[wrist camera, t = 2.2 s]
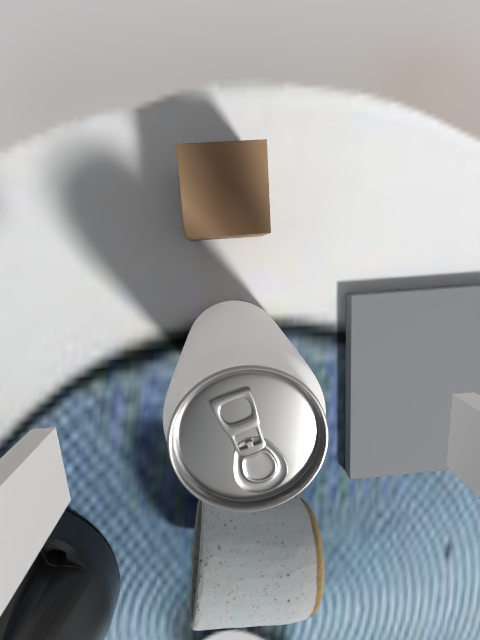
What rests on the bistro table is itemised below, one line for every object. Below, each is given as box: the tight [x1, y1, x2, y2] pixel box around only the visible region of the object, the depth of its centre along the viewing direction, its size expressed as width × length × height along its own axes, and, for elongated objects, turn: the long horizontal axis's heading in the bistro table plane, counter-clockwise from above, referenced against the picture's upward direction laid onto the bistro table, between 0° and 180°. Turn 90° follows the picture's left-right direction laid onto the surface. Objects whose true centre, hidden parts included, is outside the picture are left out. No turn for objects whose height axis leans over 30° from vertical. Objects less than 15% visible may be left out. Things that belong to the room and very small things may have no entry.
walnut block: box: [176, 139, 271, 241], centre depth 19 cm, size 4×4×4 cm
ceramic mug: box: [190, 493, 325, 630], centre depth 22 cm, size 11×8×8 cm
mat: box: [345, 284, 480, 480], centre depth 24 cm, size 16×14×1 cm
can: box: [163, 300, 329, 512], centre depth 17 cm, size 6×6×12 cm
